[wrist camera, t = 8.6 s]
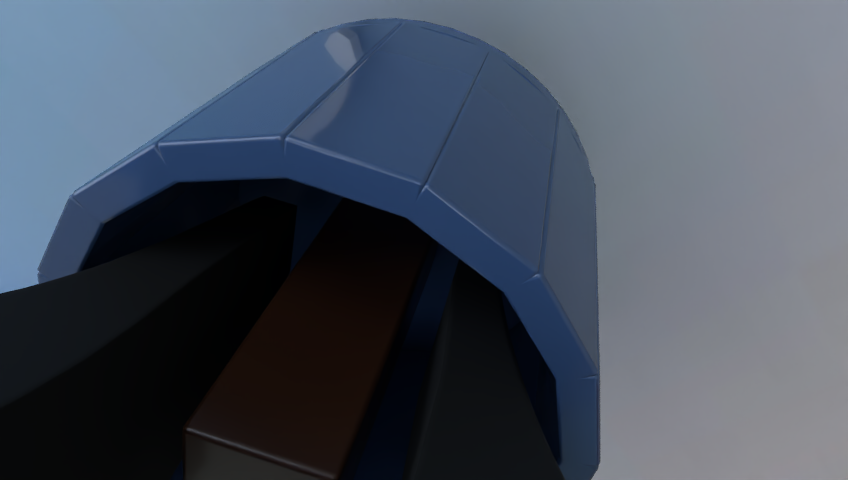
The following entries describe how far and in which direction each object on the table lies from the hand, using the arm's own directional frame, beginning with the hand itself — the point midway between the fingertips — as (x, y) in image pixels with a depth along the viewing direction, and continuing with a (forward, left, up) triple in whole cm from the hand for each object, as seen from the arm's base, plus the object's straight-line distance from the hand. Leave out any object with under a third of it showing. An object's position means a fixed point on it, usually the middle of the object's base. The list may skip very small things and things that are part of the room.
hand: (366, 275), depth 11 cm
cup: (0, 0, -2) cm, 2 cm away
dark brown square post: (0, 0, -2) cm, 2 cm away
